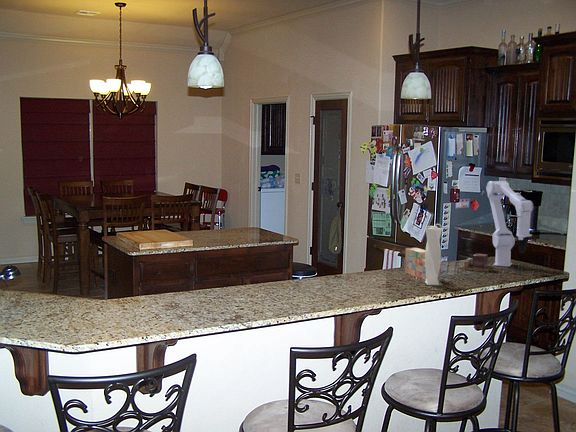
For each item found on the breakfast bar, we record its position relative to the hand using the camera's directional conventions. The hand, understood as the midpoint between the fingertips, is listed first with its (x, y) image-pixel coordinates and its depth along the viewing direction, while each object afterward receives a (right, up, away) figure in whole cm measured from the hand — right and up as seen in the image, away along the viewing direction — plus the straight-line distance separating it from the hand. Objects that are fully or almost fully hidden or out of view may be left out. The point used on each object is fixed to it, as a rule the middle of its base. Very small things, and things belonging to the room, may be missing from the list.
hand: (522, 252), depth 317 cm
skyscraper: (-50, -13, -27) cm, 58 cm away
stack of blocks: (-51, -11, -12) cm, 54 cm away
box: (-19, -9, +6) cm, 22 cm away
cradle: (-19, -9, +7) cm, 22 cm away
